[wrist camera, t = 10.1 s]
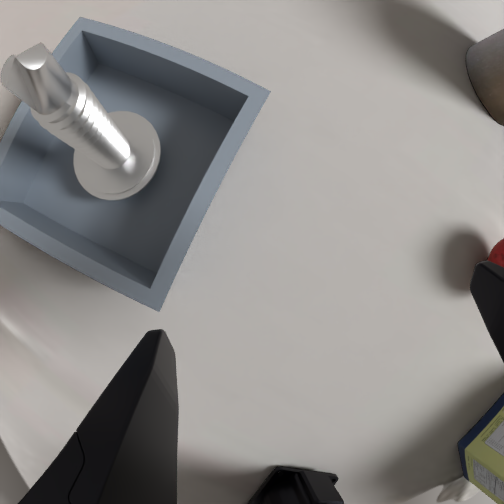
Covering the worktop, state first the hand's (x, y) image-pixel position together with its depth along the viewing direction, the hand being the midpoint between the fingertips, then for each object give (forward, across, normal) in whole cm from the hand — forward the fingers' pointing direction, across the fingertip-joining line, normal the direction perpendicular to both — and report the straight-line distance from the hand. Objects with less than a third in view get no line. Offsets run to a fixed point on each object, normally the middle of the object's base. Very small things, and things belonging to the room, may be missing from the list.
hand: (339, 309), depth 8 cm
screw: (+12, +8, -2) cm, 15 cm away
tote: (+13, +8, -2) cm, 16 cm away
